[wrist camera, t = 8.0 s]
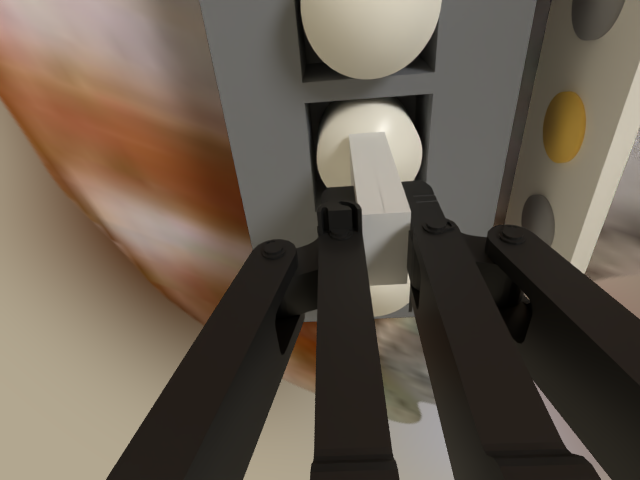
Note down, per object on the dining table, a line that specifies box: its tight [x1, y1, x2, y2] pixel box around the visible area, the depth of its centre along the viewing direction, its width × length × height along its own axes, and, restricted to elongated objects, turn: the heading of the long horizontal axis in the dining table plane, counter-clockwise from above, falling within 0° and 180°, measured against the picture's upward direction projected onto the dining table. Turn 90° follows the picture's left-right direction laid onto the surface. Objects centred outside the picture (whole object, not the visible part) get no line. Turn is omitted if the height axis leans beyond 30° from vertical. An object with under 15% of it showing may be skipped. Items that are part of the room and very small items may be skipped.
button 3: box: [317, 96, 422, 187], centre depth 19 cm, size 5×5×3 cm
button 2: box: [301, 0, 442, 79], centre depth 15 cm, size 5×5×3 cm
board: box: [199, 0, 537, 322], centre depth 18 cm, size 26×12×4 cm, turn 5°
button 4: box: [370, 275, 410, 317], centre depth 21 cm, size 5×5×3 cm
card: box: [504, 0, 640, 274], centre depth 17 cm, size 20×1×7 cm, turn 5°
